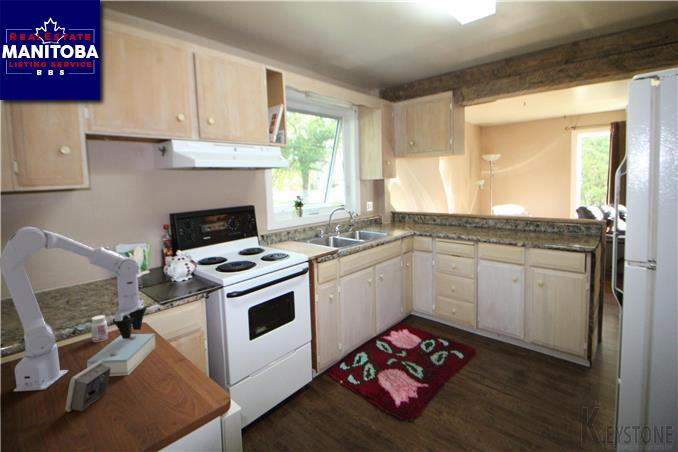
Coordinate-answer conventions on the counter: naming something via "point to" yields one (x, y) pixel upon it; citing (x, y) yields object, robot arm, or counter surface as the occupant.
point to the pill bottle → (99, 329)
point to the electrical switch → (87, 386)
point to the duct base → (127, 367)
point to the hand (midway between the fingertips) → (132, 333)
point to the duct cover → (121, 349)
